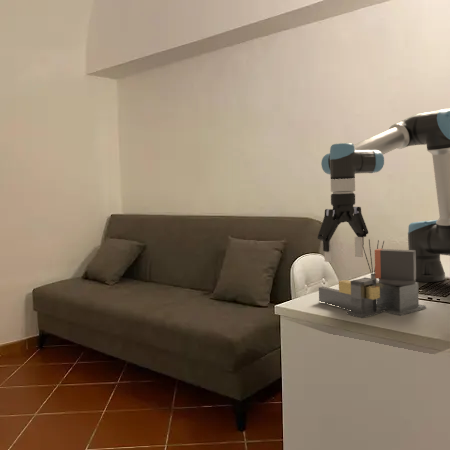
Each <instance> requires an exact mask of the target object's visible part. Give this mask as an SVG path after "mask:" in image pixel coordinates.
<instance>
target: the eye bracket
mask: <svg viewBox="0 0 450 450" xmlns="http://www.w3.org/2000/svg"><path fill="white" fill-rule="evenodd" d="M376 279H377V278H376ZM376 279H371V277H370V278H369V277H362V278H358V279H353V280H350V281H351V295H350V294H346V293H341V292H339V289H335V288H333V287H331V288H330V287H327V286H319V287H318V302H319V301H321V302H325V303H328V304H332V305H335V306H339V307H341V308H345V309H348V310H346V314H347V313H348V314H351V315H350V316H352V315H354V316H353V317H356V316H357V317H356V318H359V317H361V318H360V319H363V318H362V317H364V318H367V317H370V315H371V316H374V314H375V315H377V314H382V313H383V311H382V310H379V309H377V299H374V300H372V299H368V298H364V286H366V285H374V286H376ZM341 308H340V309H341ZM345 309H344V310H345ZM349 310H351V311H349ZM348 314H347V315H348ZM366 316H367V317H366Z"/></svg>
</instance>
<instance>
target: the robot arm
mask: <svg viewBox="0 0 450 450" xmlns="http://www.w3.org/2000/svg"><path fill="white" fill-rule="evenodd" d="M419 145H420V146H422V145H424V146H425V145H426V151H427V152H429V153H430V154H431V156H432V163H433V172H434V180H435V181H434V182H435V186H436V187H435V189H436V197H437V206H438V213H439V215H438V216H439V218H438V219H432V220H422V221H414V222H410V223H409V225H408V226H407V227H408V231H407V242H408V247H407V249H408V250H416V282H417V283H421V282H423V283H435V282H442V281H445V279H446V273H445V270H444V267H443V264H442V261H441V256H449V257H450V108H444V109H439V110H434V111H427V112H421V113H417V114H413V115H412V116H410V117H407V118H405V119H403V120H401V121H398V122H397V123H394V124H392V125H391V126H390V127H389V128H388V129H387V130H385V131H383V132H379V133H377V134H375V135H374V136H371V137H369V138H366V139H364V140H362V141H360V142H357V143H355V144H354V143H351V142H344V143H342V142H340V143H334V144H331V145H330V148H329V153H327V154H325V155H324V156H322V159H321V169H322V170H323V173H325V174H327V175H330V192H331V194H330V204H331V206H332V209H331V208H325V210H324V216H323V219H322V222H321V225H320V227H319V228H320V229H319V232H318V235H317V240H319V241H321V242H322V247H323V248H322V251H323V252H324V262H326V263H333V259H334V258H333V257H334V256H333V241H332V240H331V239H332V238H333V235H334V234H335V232H336V230H337V229H338V227H339V225H340V224H341V223H348V225H349V227H350V228H351V229H352V230H353V232H354V234H355V235H356V236H354V257H357V258H363V257H364V249H363V247H364V241H365V240H364V239H365V237H367V235H368V234H369V230H368V227H367V224H366V222H365V219H364V216H363V214H362V207H361V206H354V205H356V194H355V193H354V192H355V191H356V175H355V174H373V173H379V172H380V171H381V170H382V169H383V168H384V165H385V157H384V155H386V154H388V153H390V152H392V151H394V150H397V149H399V150H401V149H404V148H408V147H412V146H419Z"/></svg>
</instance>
